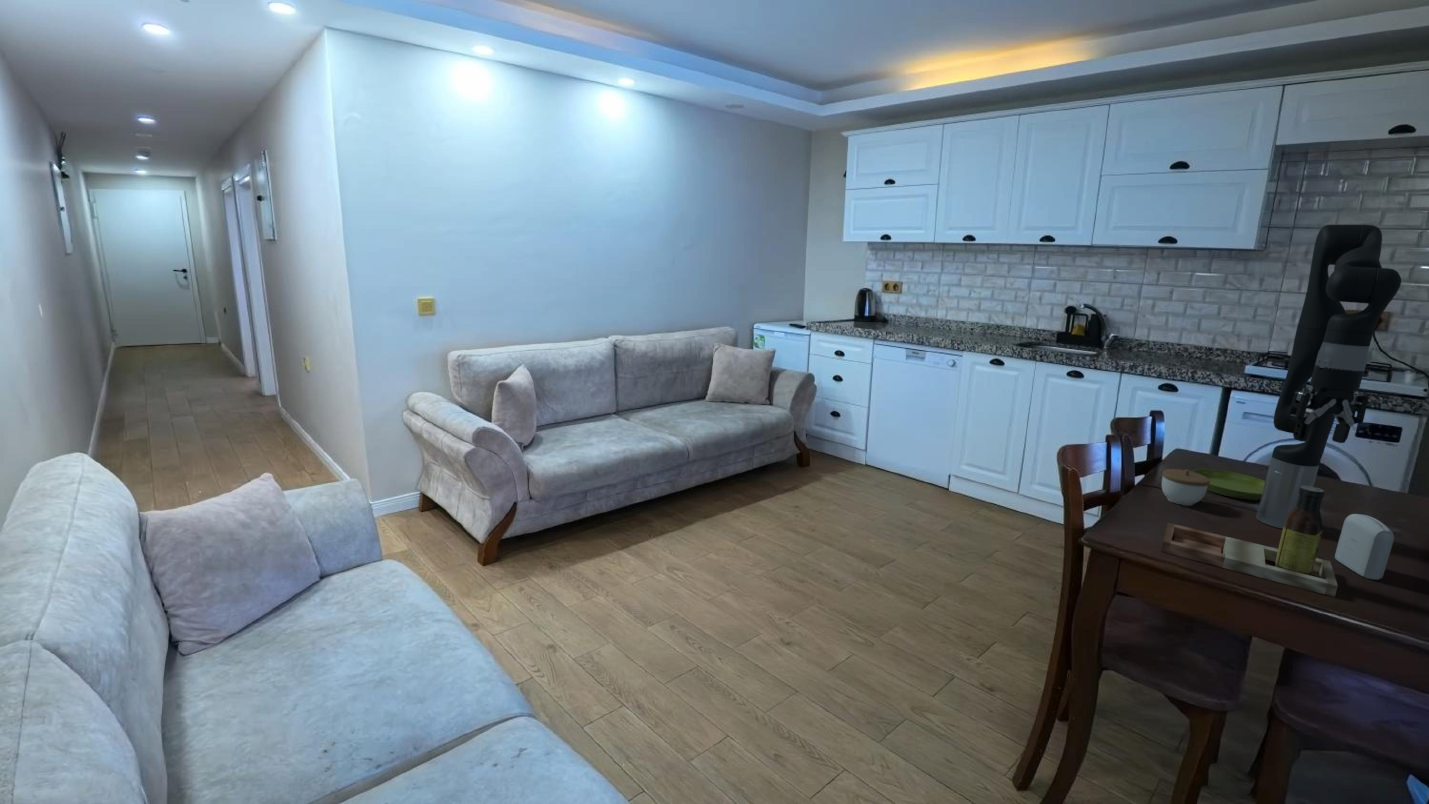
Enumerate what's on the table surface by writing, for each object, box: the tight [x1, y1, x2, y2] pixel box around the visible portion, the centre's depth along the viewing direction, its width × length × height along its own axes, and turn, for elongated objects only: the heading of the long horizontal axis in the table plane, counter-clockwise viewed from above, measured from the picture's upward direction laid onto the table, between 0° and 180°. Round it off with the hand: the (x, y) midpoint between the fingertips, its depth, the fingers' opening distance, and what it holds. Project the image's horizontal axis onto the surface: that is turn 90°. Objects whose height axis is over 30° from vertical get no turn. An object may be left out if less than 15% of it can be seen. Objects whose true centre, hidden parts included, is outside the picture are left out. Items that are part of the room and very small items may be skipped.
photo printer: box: [1334, 513, 1395, 581], centre depth 145 cm, size 10×4×12 cm, turn 168°
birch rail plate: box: [1160, 522, 1339, 598], centre depth 148 cm, size 30×14×2 cm, turn 52°
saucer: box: [1190, 468, 1266, 501], centre depth 193 cm, size 21×21×3 cm
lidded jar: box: [1161, 468, 1210, 507], centre depth 182 cm, size 11×11×9 cm
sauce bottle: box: [1274, 486, 1325, 576], centre depth 141 cm, size 6×6×20 cm
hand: (1318, 441), depth 138 cm, fingers open, 8 cm apart
